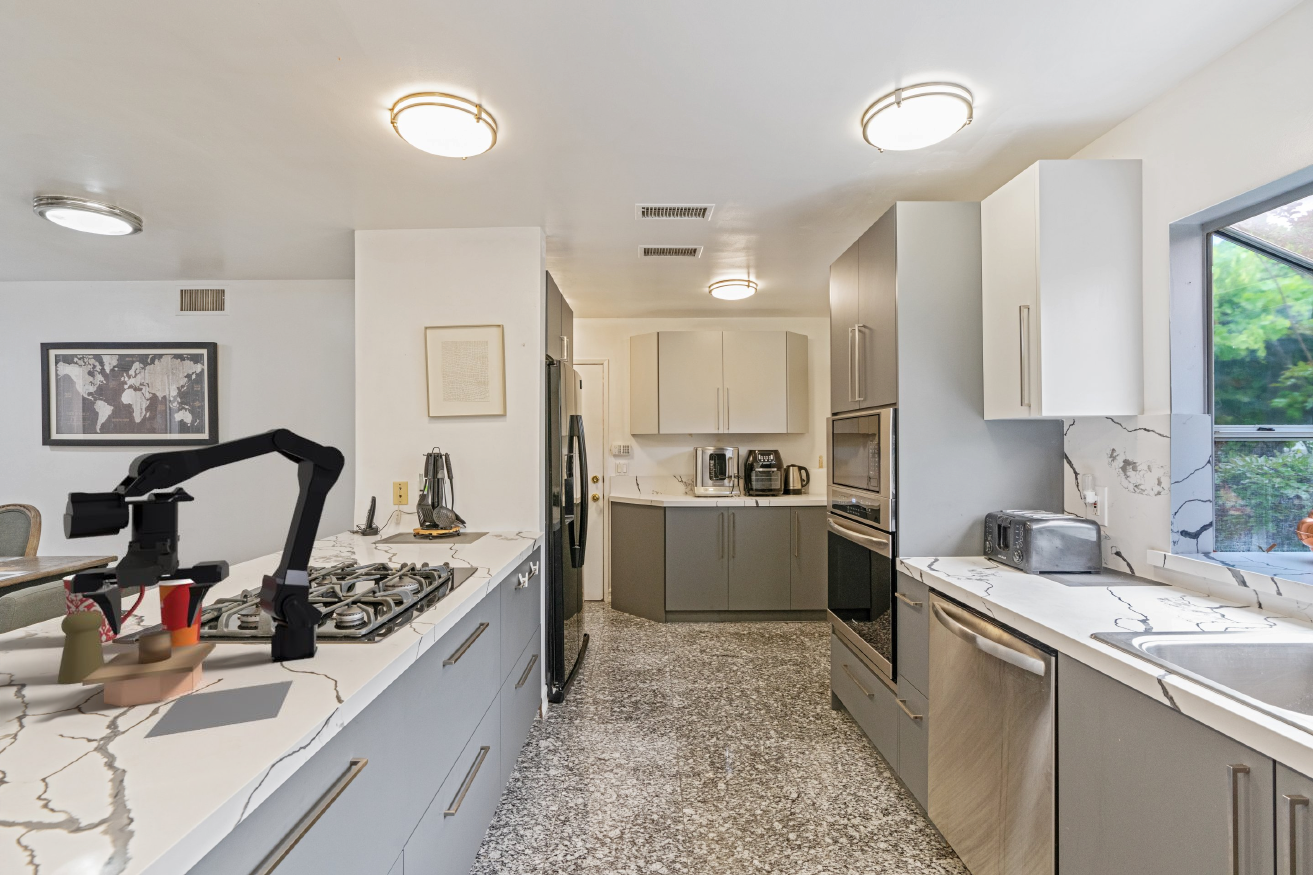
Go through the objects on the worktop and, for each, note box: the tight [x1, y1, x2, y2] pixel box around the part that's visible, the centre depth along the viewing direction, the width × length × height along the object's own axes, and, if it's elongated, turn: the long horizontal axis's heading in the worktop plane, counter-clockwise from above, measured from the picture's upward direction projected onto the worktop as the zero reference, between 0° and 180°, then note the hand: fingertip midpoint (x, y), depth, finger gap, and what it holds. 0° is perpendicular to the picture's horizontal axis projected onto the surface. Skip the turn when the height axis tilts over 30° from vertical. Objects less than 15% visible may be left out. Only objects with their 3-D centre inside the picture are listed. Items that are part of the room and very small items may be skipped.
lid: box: [81, 629, 217, 687], centre depth 96 cm, size 13×13×5 cm
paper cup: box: [157, 575, 203, 647], centre depth 120 cm, size 8×8×14 cm
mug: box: [61, 574, 146, 644], centre depth 125 cm, size 13×9×14 cm
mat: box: [143, 680, 294, 739], centre depth 89 cm, size 15×15×1 cm
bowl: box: [103, 661, 203, 708], centre depth 96 cm, size 11×11×4 cm
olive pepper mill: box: [57, 611, 106, 685], centre depth 103 cm, size 6×6×11 cm
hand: (154, 630), depth 96 cm, fingers open, 9 cm apart
